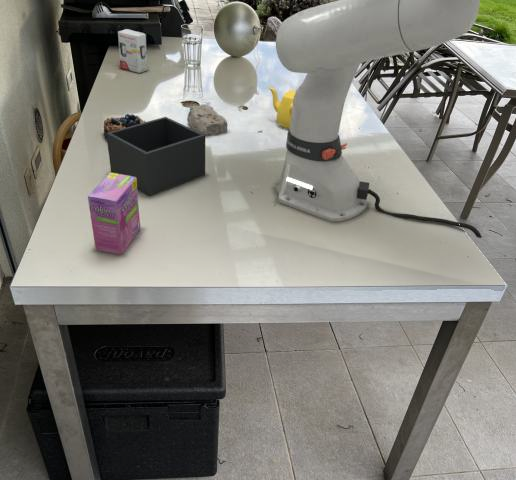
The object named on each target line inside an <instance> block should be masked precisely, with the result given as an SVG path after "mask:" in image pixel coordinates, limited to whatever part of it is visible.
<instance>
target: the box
mask: <svg viewBox="0 0 516 480" xmlns="http://www.w3.org/2000/svg"><path fill="white" fill-rule="evenodd" d="M138 194H139V193H138V189H137V178H136V177H133V176H128V175H122V174H116V173H111V172H109V173H108V174H107V175H106V176H105V177H104V178H103V179H102V180H101V182H100V183H98V185H97V186H96V187H95V188H93V190H92V191H91V192H90V193H89V194H88V195H87V201H88V208H89V214H90V221H91V228H92V234H93V235H92V236H93V242H94V248H95V249H94V250H95V251H99V252H103V253H110V254H114V255H124V252H125V251H126V249H127V248H128V247H129V245H130V244H131V243H132V241H133V240H134V238H136V236H137V234H138V233H139V232H140V230H141V219H140V210H139V209H140V208H139V197H138Z"/></svg>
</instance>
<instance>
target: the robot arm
mask: <svg viewBox="0 0 516 480" xmlns="http://www.w3.org/2000/svg"><path fill="white" fill-rule="evenodd" d="M480 3H481V0H334V1H332V2H327V3H324V4H323V3H322V4H320V5H317V6H316V5H315V6H313V7H308V8H306V9H303V10H300V11H298V12H297V13H294V14H292V15H290V16H289V17H287V18H286V19H284V21H282V23H281V24H280V25H279V27H278V29H277V32H276V36H275V51H276V55H277V58H278V60H279V62H280V63H281V65H282V66H283V68H285V69H286V71H287V70H288V71H289V72H291V73H297V74H306V75H305V78H304V79H303V80H302V83H301V84H300V85H299V87H298V88H297V91H296V90H295V91H296V93H295V95H294V98H293V107H292V115H291V125H290V128H288V130H287V137H286V142H285V143H286V144H285V147H286V154H285V159H284V164H283V167H282V171H281V175H280V176H279V177H280V178H279V180H278V183H277V184H276V192H277V194H278V199H277V201H278V203H279V204H283V205H285V206H288V207H290V208H294V209H297V210H299V211H302V212H304V213H306V214H307V213H308V214H309V215H313V216H315V217H319V218H322V219H323V220H327V221H328V222H329V221H330V222H335V223H336V222H343V221H346V220H350V219H353V218H354V217H356V216H359V215H360V214H361V213H363V212H364V211H365V210H366V208H367V205H368V200H367V199H368V195H370V196H372V197H373V198H374V200H375V202H374V208H375V210H376V211H377V212H379V213H381V214H385V215H388V216H391V217H394V218H399V219H409V220H415V221H419V222H420V221H421V222H428V223H437V224H442V225H443V224H444V225H448V226H452V227H458V228H463V229H466V230H469V231H471V232H472V233H473V234H474V235H475V237H476V238H478V239H482V238H483V237H482V235H481V233H480V231H479V230H478V229H477V228H476V227H475V226H473V225H471V224H469V223H465V222H459V221H455V220H450V219H446V218H445V219H444V218H437V217H430V216H421V215H417V214H411V213H400V212H399V213H398V212H397V213H396V212H389V211H386V210H384V209H383V208H381V206H380V203H381V198H380V195H378V193H377V192H375V191H374V190H372V189H370V182H366V181H361V180H360V179H359V177H358V175H357V174H356V173H355V172H354V171H353V170H354V169H352V167H351V166H350V165H349V163H348V161H347V160H346V159H345V158H344V156H343V155H342V154H343V150H345V149H347V147H346V146H347V145H348V143H344V144H341V138H340V135H339V133H340V127H341V122H342V117H343V111H344V107H345V103H346V100H347V96H348V93H349V91H350V89H351V86H352V83H353V81H354V79H355V76H356V74H357V71H358V69H359V67H360V65H361V63H366V62H370V61H375V60H379V59H383V58H389V57H395V56H399V55H405V54H408V53H414V52H419V51H423V50H426V49H430V48H434V47H437V46H439V45H440V46H441V45H443V44H445V43H448V42H450V41H453V40H455V39H457V38H459V37H462V36H463V35H465V34H467V33H468V32H469V31H470V30H471V28H473V26H474V24H475V23H476V21H477V18H478V15H479V11H480V7H481V6H480ZM459 224H460V225H459Z"/></svg>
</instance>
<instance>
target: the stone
mask: <svg viewBox="0 0 516 480" xmlns="http://www.w3.org/2000/svg"><path fill="white" fill-rule="evenodd" d="M187 114H188V115H187V118H186V119H187V123H188V125H189V126H190V128H192V129H193V130H195V131H197V132H200V133H202V134H204V135H205V136H211V134H212V135H213V134H214V135H215V134H220V133H225V132H227V131H228V125H229V124H228V120H227V119H226V118H225V117H224V116H223V115H221V114H218V112H217V111H216V110H215V109H214V107H213V106H212V105H208V104H200V105H191V106H189V112H188V113H187Z"/></svg>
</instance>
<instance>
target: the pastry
mask: <svg viewBox="0 0 516 480" xmlns="http://www.w3.org/2000/svg"><path fill="white" fill-rule="evenodd" d="M145 122H147V121H146V120H143V119H142V118H141V117H140V116H138V115H135V114H133V113H131V114H130V113H126V114H125V115H124V116H121V117H113V116H112V117H107V118H106V120H104V121H103V133H104V138H105V139H106V140H107V134H106V133H108V132H112V131H115V130H119V129H123V128H126V127H130V126H134V125H137V124H141V123H145Z"/></svg>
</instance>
